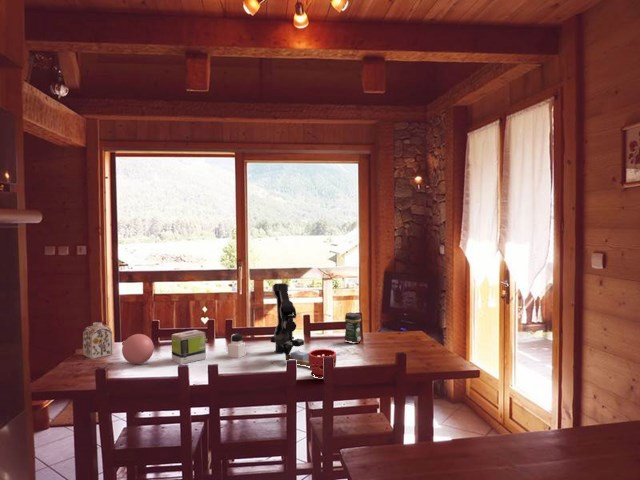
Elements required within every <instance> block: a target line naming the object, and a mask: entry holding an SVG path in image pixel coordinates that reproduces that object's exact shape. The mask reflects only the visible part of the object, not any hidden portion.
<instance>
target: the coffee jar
mask: <svg viewBox="0 0 640 480" xmlns="http://www.w3.org/2000/svg"><path fill="white" fill-rule="evenodd" d="M344 321H345V334H344V341H345V340H347V341H352V342H357V341H360V340H361V339H362V338H361V321H362V315H361V314H360V313H356V312H346V313H345V315H344ZM361 341H362V340H361Z"/></svg>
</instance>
